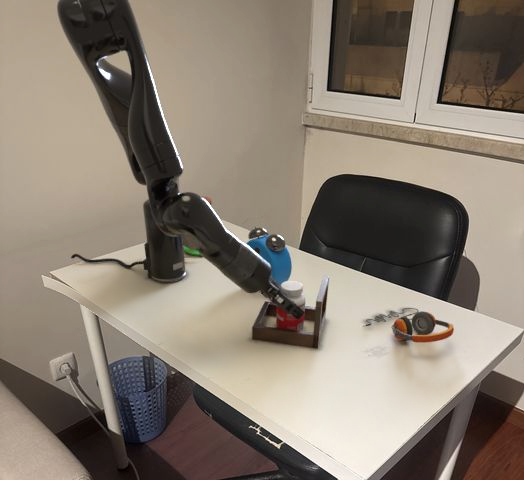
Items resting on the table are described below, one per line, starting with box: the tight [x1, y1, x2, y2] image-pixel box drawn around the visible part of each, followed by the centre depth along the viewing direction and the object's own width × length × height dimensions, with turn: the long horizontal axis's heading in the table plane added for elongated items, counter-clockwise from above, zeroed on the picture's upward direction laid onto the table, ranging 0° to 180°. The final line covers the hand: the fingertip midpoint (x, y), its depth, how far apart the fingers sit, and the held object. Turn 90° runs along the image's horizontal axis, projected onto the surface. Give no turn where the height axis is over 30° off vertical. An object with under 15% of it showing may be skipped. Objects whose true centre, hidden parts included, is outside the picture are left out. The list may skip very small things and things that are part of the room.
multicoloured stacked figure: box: [183, 195, 213, 257], centre depth 148 cm, size 12×13×15 cm
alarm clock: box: [245, 226, 293, 287], centre depth 127 cm, size 13×6×15 cm, turn 39°
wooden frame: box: [251, 275, 330, 349], centre depth 110 cm, size 14×12×11 cm
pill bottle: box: [275, 280, 306, 331], centre depth 110 cm, size 6×6×11 cm
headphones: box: [362, 307, 455, 343], centre depth 111 cm, size 17×5×20 cm
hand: (294, 308), depth 110 cm, fingers closed on pill bottle, 6 cm apart
